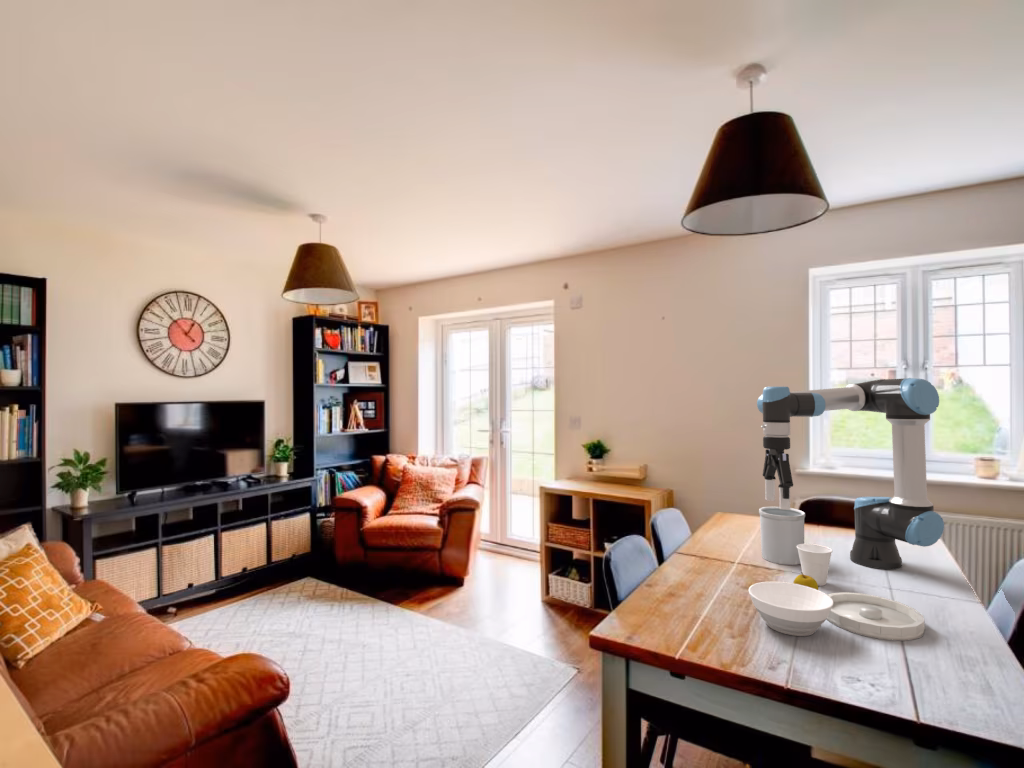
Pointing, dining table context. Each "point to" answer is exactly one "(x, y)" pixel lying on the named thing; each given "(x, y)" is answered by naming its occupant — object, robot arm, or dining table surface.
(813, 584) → the apple
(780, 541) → the utensil holder
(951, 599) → the dining table surface
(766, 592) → the bowl
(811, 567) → the cup
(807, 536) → the dining table surface
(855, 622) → the ring tray
